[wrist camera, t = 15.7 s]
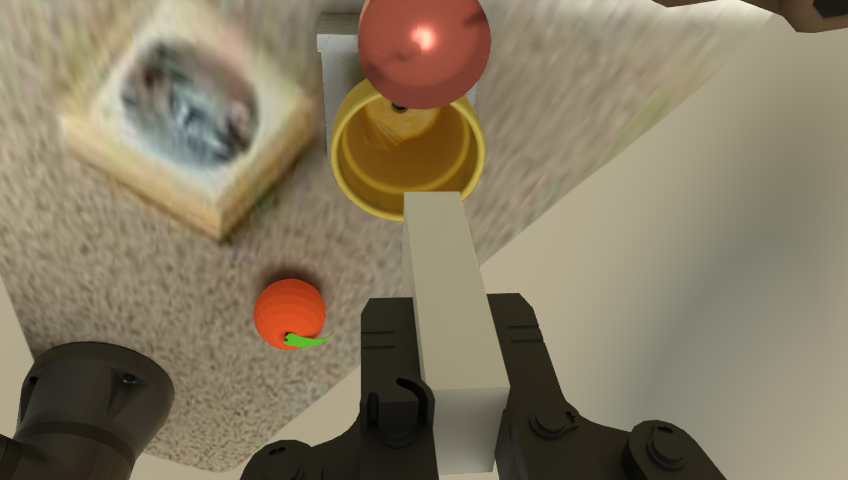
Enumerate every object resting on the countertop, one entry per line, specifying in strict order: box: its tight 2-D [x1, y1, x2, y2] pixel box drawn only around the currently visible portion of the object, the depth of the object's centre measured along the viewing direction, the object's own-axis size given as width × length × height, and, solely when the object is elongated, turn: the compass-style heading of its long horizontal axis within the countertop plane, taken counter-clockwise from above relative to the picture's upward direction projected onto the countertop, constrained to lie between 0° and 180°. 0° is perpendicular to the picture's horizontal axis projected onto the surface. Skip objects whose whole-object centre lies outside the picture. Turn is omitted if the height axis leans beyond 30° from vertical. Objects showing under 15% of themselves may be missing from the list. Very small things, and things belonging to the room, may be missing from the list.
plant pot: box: [330, 77, 486, 222], centre depth 42 cm, size 10×10×10 cm
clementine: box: [254, 279, 333, 350], centre depth 57 cm, size 8×7×7 cm
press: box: [317, 13, 477, 166], centre depth 40 cm, size 19×12×12 cm, turn 177°
